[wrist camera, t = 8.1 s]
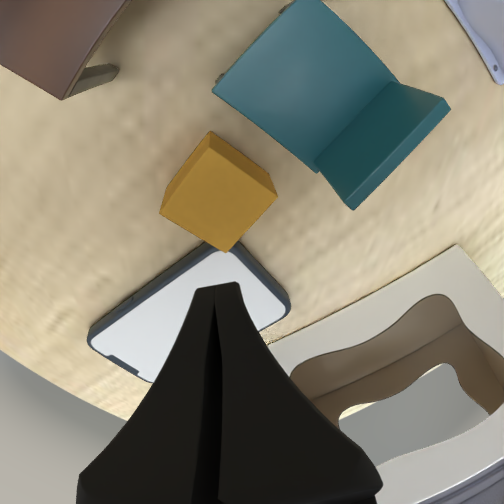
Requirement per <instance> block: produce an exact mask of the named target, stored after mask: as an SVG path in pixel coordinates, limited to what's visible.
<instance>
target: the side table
mask: <svg viewBox="0 0 504 504" xmlns="http://www.w3.org/2000/svg"><path fill="white" fill-rule="evenodd" d="M131 1H132V0H0V65H2V66H4V67H5V68H7V69H9V70H11V71H12V72H14V73H16V74H17V75H19V76H21V77H22V78H24V79H26V80H28V81H29V82H31V83H33V84H34V85H36V86H38V87H39V88H41V89H43V90H44V91H46V92H48V93H49V94H51V95H53V96H54V97H56V98H58V99H59V100H64V99H67V98H69V97H71V96H73V95H76V94H78V93H81V92H83V91H86V90H88V89H91V88H94V87H96V86H99V85H102V84H104V83H107V82H110V81H112V80H113V79H114V77H115V76H116V74H117V73H118V71H119V69H118V68H116V67H115V66H113V65H111V64H103V65H98V66H92V67H87V68H85V67H86V65H87V63H88V62H89V60H90V58H91V57H92V55H93V54H94V52H95V51H96V49H97V48H98V46H99V44H100V43H101V42H102V40H103V39H104V37H105V36H106V34H107V33H108V31H109V30H110V28H111V27H112V26H113V24H114V23H115V22H116V20H117V19H118V17H119V16H120V15H121V14H122V12H123V11H124V10H125V8H126V7H127V6H128V4H129V3H130V2H131Z"/></svg>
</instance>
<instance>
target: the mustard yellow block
mask: <svg viewBox="0 0 504 504" xmlns="http://www.w3.org/2000/svg"><path fill="white" fill-rule="evenodd" d="M277 198H278V195H277V193H276V190H275V188H274V185H273V183H272V180H271V178H270V175H269V173H267V172H266V171H265V170H263V169H262V168H261V167H259V166H258V165H257V164H255V163H254V162H253V161H251V160H250V159H249V158H247V157H246V156H244V155H243V154H242V153H240V152H239V151H238V150H236V149H235V148H233V147H232V146H231V145H229V144H228V143H227V142H225V141H224V140H222V139H221V138H220V137H218V136H217V135H215V134H214V133H212V132H211V131H209V133H208V134H207V135H206V136H205V138H204V139H203V140H202V141H201V143H200V144H199V145H198V147H197V148H196V149H195V150H194V152H193V153H192V154H191V156H190V157H189V158H188V160H187V161H186V162H185V164H184V165H183V166H182V168H181V169H180V170H179V172H178V173H177V174H176V176H175V177H174V178H173V180H172V181H171V182H170V184H169V185H168V187H167V188H166V192H165V195H164V198H163V202H162V205H161V208H160V212H159V214H161V215H162V216H164V217H166V218H167V219H169V220H171V221H172V222H174V223H176V224H177V225H179V226H181V227H182V228H184V229H186V230H187V231H189V232H191V233H192V234H194V235H196V236H197V237H199V238H201V239H202V240H204V241H206V242H207V243H209V244H211V245H212V246H214V247H216V248H217V249H219V250H221V251H222V252H224V253H227V252H228V251H229V250H230V249H231V248H232V246H233V245H234V244H235V243H236V242H237V241H238V240H239V239H240V238H241V237H242V236H243V234H244V233H245V232H246V231H247V230H248V229H249V228H250V227H251V226H252V225H253V224H254V223H255V221H256V220H257V219H258V218H259V217H260V216H261V215H262V214H263V213H264V212H265V211H266V210H267V209H268V207H269V206H270V205H271V204H272V203H273V202H274V201H275V200H276V199H277Z"/></svg>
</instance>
